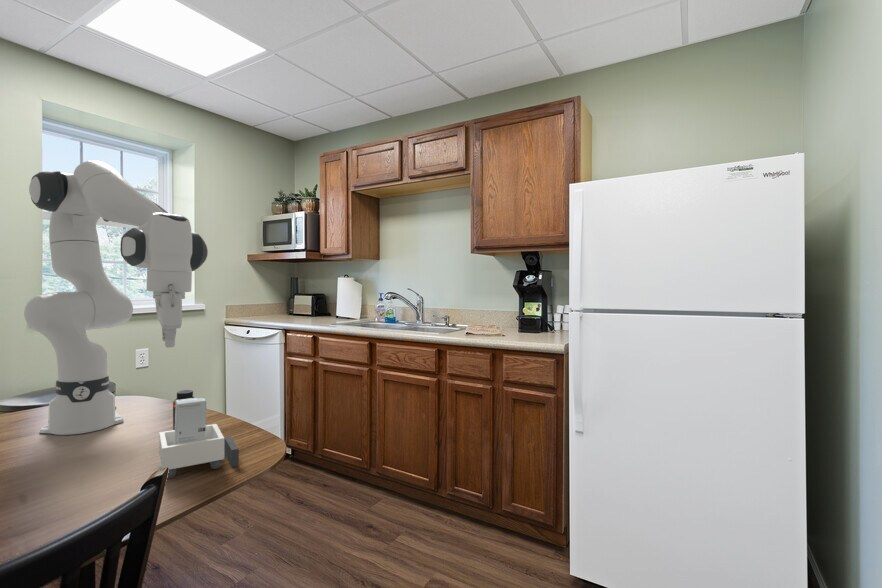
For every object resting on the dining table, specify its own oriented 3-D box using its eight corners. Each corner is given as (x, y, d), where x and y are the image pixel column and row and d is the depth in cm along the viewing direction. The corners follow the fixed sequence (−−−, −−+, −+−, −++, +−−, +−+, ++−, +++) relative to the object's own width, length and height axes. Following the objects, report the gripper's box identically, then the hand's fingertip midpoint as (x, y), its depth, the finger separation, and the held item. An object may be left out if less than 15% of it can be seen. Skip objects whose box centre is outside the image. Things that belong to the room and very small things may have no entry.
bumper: (224, 453, 112) (224, 437, 112) (230, 452, 113) (230, 436, 112) (231, 467, 104) (231, 450, 103) (238, 465, 104) (238, 448, 104)
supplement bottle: (176, 427, 130) (176, 389, 130) (199, 426, 131) (199, 388, 131) (169, 434, 124) (169, 394, 124) (193, 433, 126) (193, 393, 125)
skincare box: (175, 458, 100) (175, 404, 99) (173, 452, 103) (173, 399, 103) (206, 452, 103) (206, 400, 103) (203, 446, 107) (203, 396, 106)
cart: (159, 462, 105) (159, 432, 105) (216, 452, 112) (216, 423, 111) (162, 482, 95) (162, 448, 95) (224, 469, 102) (224, 438, 102)
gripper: (190, 286, 96) (188, 350, 97) (181, 282, 113) (179, 337, 114) (155, 285, 93) (154, 352, 93) (151, 281, 109) (150, 338, 110)
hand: (168, 343), depth 103 cm, fingers open, 8 cm apart
